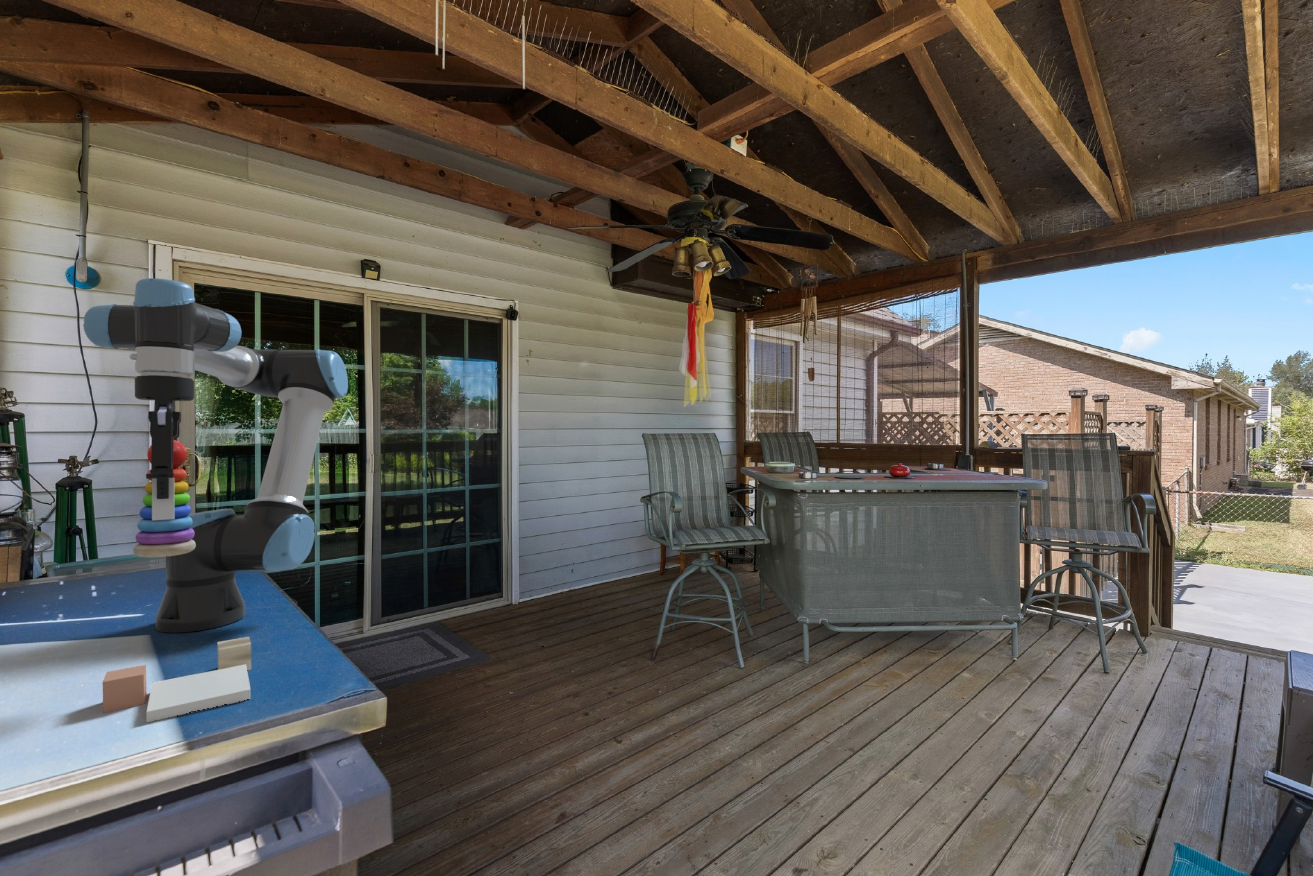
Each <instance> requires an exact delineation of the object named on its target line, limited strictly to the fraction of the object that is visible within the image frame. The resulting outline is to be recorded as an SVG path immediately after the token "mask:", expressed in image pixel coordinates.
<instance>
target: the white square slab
mask: <svg viewBox="0 0 1313 876" xmlns="http://www.w3.org/2000/svg"><path fill="white" fill-rule="evenodd" d="M248 672H249V671H247V666H246V664H245V665H240V666H235V667H229V668H224V669H219V670H218V669H214V670H211V671H204V672H201V673H200V672H199V673H194V674H189V675H185V676H178V677H175V678H170V679H169V678H168V679H164V680H159V681H154V682H152V684H151V688H150V692H149V693H150V694H149V697H148V701H147V702H148V703H147V708H146V723H152V722H155V720H156V721H160V720H164V719H168V717H169V718H172V717H177V715H178V716H182V715H186V713H187V714H190V713H189V712H191V711H196V712H198V711H197V710H200V711H204V710H203V709H205V710H208V709H207V708H209V709H213V707H214V708H217V707H216V706H218V707H221V706H222V705H223V706H225V705H224V704H227V705H230V704H231V705H232V704H235V703H239V701H240V702H244V700H245V701H248V700H247V699H249V700H252V699H251V697H252V694H251V690H252V689H251V683H250V678H249V673H248ZM191 713H192V712H191Z"/></svg>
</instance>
